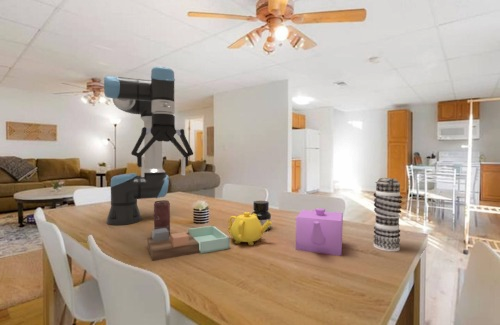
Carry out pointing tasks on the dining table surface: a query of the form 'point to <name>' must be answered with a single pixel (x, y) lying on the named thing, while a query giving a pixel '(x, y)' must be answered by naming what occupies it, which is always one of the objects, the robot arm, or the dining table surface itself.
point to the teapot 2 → (319, 231)
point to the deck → (171, 248)
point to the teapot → (247, 228)
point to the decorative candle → (387, 214)
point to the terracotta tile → (179, 239)
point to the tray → (210, 239)
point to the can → (162, 215)
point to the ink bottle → (262, 212)
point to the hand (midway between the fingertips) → (163, 176)
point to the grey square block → (160, 234)
